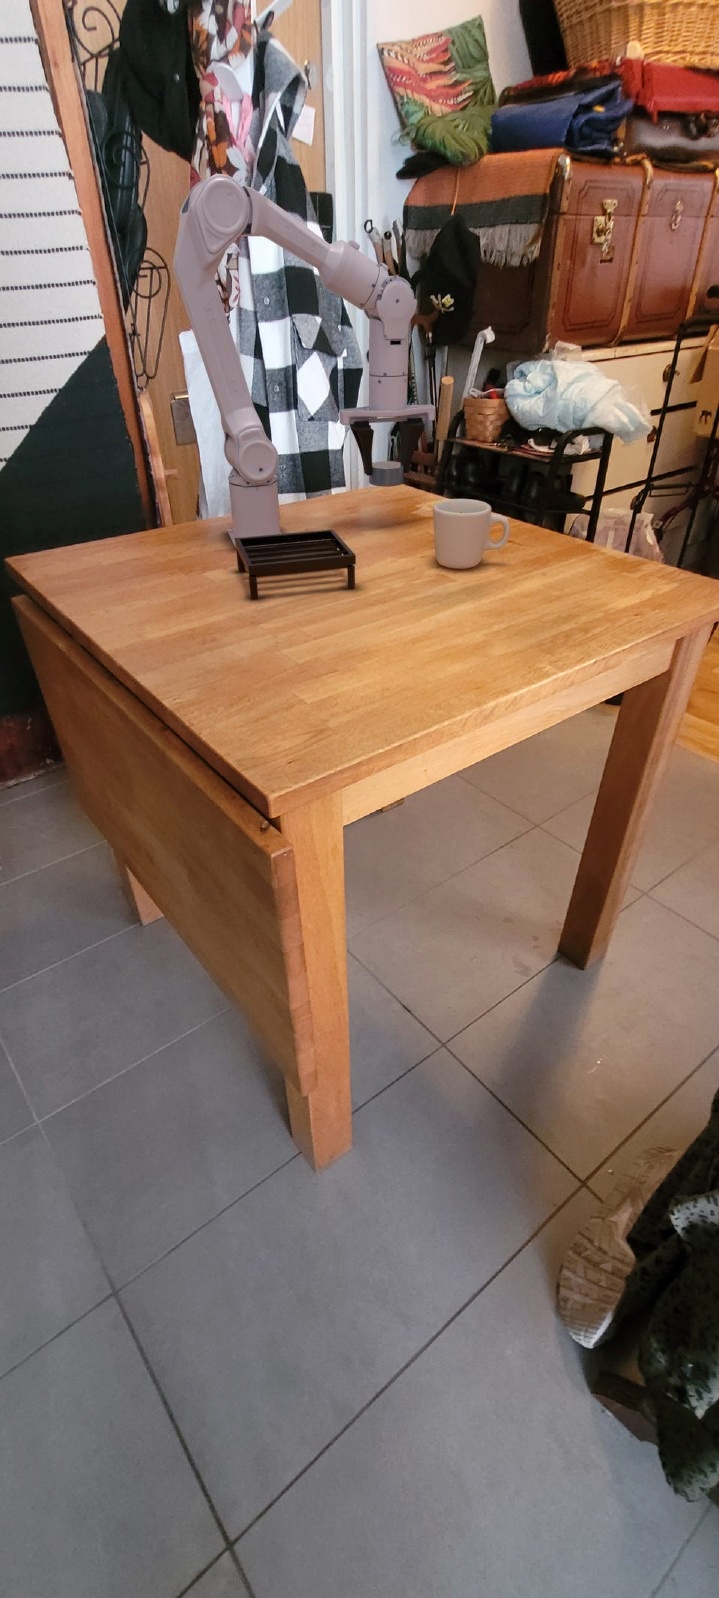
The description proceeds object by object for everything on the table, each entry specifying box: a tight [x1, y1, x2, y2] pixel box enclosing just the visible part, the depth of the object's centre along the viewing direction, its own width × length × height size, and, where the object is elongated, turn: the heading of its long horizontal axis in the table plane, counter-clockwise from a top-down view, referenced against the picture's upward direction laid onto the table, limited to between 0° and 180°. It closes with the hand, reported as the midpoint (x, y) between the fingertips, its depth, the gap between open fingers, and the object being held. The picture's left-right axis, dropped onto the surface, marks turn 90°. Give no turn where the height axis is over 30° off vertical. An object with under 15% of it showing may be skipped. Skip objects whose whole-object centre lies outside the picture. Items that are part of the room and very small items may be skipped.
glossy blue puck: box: [368, 460, 405, 488], centre depth 120 cm, size 6×6×3 cm
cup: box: [432, 498, 511, 570], centre depth 107 cm, size 11×8×8 cm
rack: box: [234, 529, 357, 601], centre depth 104 cm, size 12×14×4 cm
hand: (386, 472), depth 120 cm, fingers closed on glossy blue puck, 5 cm apart
